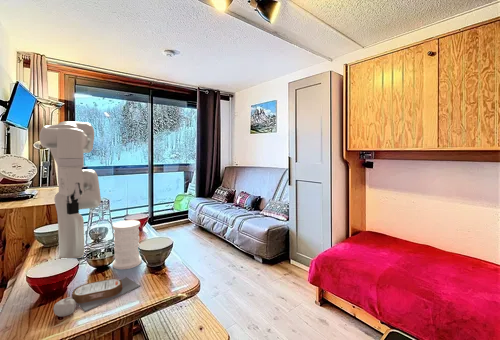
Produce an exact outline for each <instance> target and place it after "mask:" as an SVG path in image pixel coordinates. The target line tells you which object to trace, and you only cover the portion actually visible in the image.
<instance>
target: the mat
mask: <svg viewBox="0 0 500 340" xmlns="http://www.w3.org/2000/svg"><path fill="white" fill-rule="evenodd" d="M119 280H121V281H122V287H123V289H122V291H121V292H120V293H119V294H117V295H115V296H112V297H109V298H104V299H100V300H95V301H90V302H86V303H76V305H78V307H80V308H81V309H82V311H84V312H85V313H86V312H88V311H90V310H92V309H94V308H97V307H99V306H101V305H103V304H107V302H110V301H112V300H115V299H117V298H119V297H122V296H123V295H125V294H127V293H129V292H131V291H132V292H133V291H134V290H136V289H138V288H140V287H141V285H140V284H138V283H137V282H136V281H134V280H132V279H130V277H127V276H125V277H122V278H121V279H119Z"/></svg>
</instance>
